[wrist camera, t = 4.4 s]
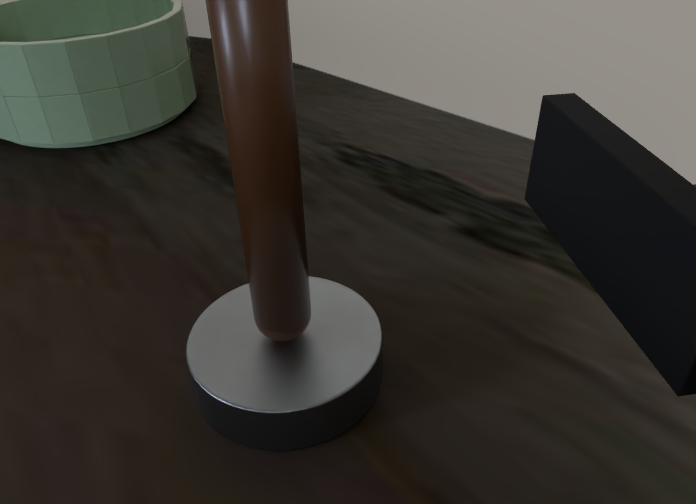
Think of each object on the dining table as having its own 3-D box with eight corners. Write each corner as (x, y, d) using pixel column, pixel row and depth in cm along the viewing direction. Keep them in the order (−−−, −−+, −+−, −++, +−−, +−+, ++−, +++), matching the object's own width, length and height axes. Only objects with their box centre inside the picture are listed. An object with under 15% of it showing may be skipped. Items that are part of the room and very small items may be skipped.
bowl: (-12, 173, 36) (-59, 59, 32) (-17, 97, 47) (-53, 5, 43) (224, 122, 42) (208, 20, 38) (170, 65, 53) (154, -19, 49)
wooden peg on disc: (231, 486, 18) (25, -399, 7) (173, 347, 23) (0, -298, 12) (418, 400, 21) (471, -346, 10) (330, 292, 26) (301, -281, 15)
